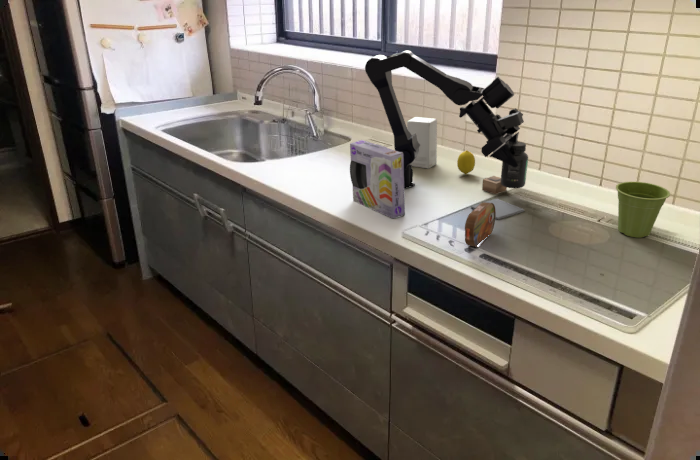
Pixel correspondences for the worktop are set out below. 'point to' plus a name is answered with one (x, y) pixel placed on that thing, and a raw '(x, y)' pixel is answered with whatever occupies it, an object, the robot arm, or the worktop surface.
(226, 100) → the worktop surface
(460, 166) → the lemon
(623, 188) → the plant pot
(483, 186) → the wooden letter block
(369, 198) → the cake pan box
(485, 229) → the tin
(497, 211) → the slate mat
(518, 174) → the supplement bottle
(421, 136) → the skincare box
